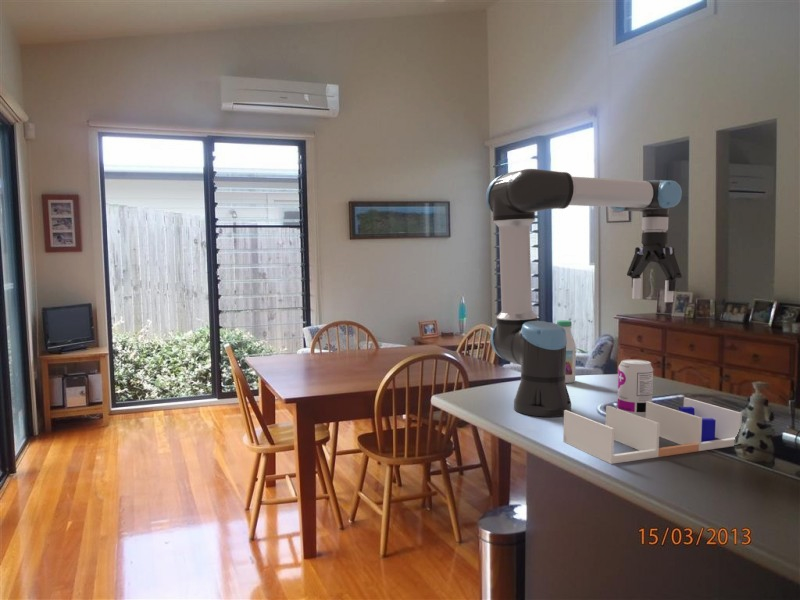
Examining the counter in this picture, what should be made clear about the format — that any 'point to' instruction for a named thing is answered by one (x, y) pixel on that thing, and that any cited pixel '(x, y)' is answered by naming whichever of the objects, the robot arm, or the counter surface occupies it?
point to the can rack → (651, 431)
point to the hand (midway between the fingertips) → (652, 300)
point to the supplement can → (634, 386)
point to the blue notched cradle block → (703, 425)
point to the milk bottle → (569, 352)
